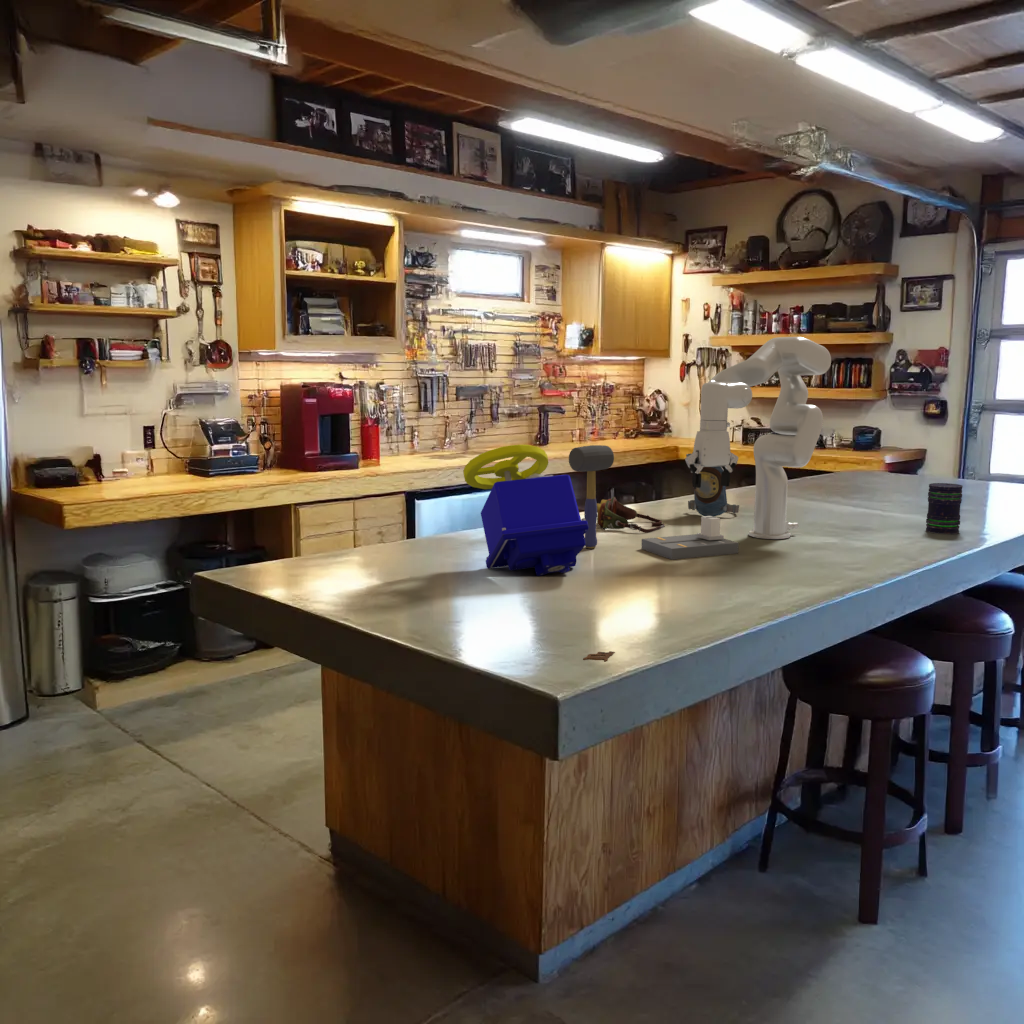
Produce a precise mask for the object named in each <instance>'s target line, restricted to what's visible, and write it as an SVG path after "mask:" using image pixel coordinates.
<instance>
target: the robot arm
mask: <svg viewBox="0 0 1024 1024" xmlns="http://www.w3.org/2000/svg"><path fill="white" fill-rule="evenodd" d="M831 363H832V356H831V354H830V351H829V350H828V349H827V348H826V347H825V346H824V345H821V344H819V343H817V342H815V341H813V340H811V339H808V338H805V337H802V336H780V337H779V336H777V337H773V338H771V339H769V340H767V341H766V342H765V343H763V344H762V346H760V347H759V348H758V349H757V350H756V351H755V352H754V353H753V354H752V355H751V356H750V357H748V358H747V359H745V360H743V361H741V362H738V363H736V364H734V365H731V366H729V367H727V368H725V369H723V370H721V371H719V372H718V373H717V374H715V375H714V376H713V377H712V378H711V379H710V380H709V381H707V382H705V383H703V384H702V386H701V392H700V393H701V394H700V418H699V419H700V420H699V431H696V434H695V439H694V444H693V450H692V453H693V454H692V453H690V454H691V455H689V456H688V457H685V459H684V461H685V463H686V465H687V468H688V470H690V473H691V475H692V478H691V481H692V482H691V483H692V487H693V488H694V487H697V488H700V487H701V474H699V473H700V471H701V470H702V469H703V467H717V466H721V468H722V469H723V472H722V473H721V485H722V486H726V487H730V481H731V473H732V472H733V471H734V469H735V467H737V466H736V465H737V464H738V461H739V456H738V455H737V454H736V455H735V453H733V452H731V441H730V439H731V438H730V433H729V431H728V428H730V426H731V423H730V421H729V422H728V416H729V415H728V413H729V409H735V410H736V409H743V408H745V407H747V406H748V405H749V404H750V403H751V402H752V399H753V390H752V389H751V387H753V386H755V387H756V386H757V385H761V384H763V383H766V382H767V381H769V379H771V377H772V376H773V375H774V374H775V373H778V377H779V381H780V390H779V394H778V397H777V399H776V403H775V405H774V407H773V410H772V413H771V415H770V419H769V428H770V430H771V431H772V432H773V433H774V434H773V433H771V434H770V433H768V434H763V435H761V436H759V437H758V438H757V439H756V440H755V442H754V443H753V458H754V464H755V465H754V466H755V489H754V490H755V493H754V513H753V514H754V515H753V516H754V518H753V529H750V530H749V531H748V536H750V537H753V538H756V539H762V540H763V539H764V540H783V539H789V538H790V537H791V534H792V533H791V532H789V531H790V530H795V529H798V528H799V523H798V522H790V521H787V507H788V504H787V503H788V487H789V485H788V483H789V480H788V476H787V473H786V471H785V469H784V467H787V468H803V467H805V466H807V465H808V464H809V462H810V461H811V458H812V456H813V454H814V451H815V448H816V446H817V442H818V440H819V438H820V435H821V432H822V429H823V425H824V424H823V423H824V416H823V412H822V410H821V408H820V407H818V406H817V405H814V404H807V401H808V398H809V390H808V387H807V385H806V383H805V382H804V380H803V378H802V376H821V375H824V374H825V373H827V372H828V371H829V370H830V369H831V365H832V364H831ZM775 433H776V434H775ZM730 458H731V462H730ZM692 461H693V462H692ZM736 463H737V464H736ZM693 464H694V465H693Z"/></svg>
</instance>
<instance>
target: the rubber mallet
mask: <svg viewBox="0 0 1024 1024" xmlns="http://www.w3.org/2000/svg"><path fill="white" fill-rule="evenodd" d="M614 461H615V454H614V451H613V449H612V448H611V447H610V446H608V445H605V444H604V445H603V444H602V445H600V444H599V445H598V444H596V445H593V444H592V445H585V446H584V445H583V446H578V447H574V448H572V449H571V450H570V451H569V454H568V463H569V466H570V468H571V469H572V470H573V471H575V472H584V473H585V472H586V498H585V503H584V514H583V515H584V517H583V518H585V520H586V521H587V523H588V526H589V529H588V530H587V531H586V533H585V534H584V538H585V543H586V544H585V546H584V547H585V548H586V549H590V550H591V549H595V548H596V546H597V545H598V539H597V514H598V513H597V498H596V495H597V493H596V492H597V491H596V488H597V487H596V484H597V483H596V482H597V481H596V478H597V477H596V475H597V474H596V471H598V472H599V471H601V470H602V471H603V470H608V469H609V468H611V467H612V466H613V464H614Z"/></svg>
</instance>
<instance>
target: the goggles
mask: <svg viewBox="0 0 1024 1024" xmlns="http://www.w3.org/2000/svg"><path fill="white" fill-rule="evenodd" d="M636 518H638V519H642V520H643V519H644V520H647V521H651V527H653V528H643V527H642V526H641V525H640V526H639V524H637V523H632V522H631V523H629V522H628V521H630V520H634V519H636ZM596 525H597V526H600V528H602V529H603V530H605V529H609V530H621V529H622V530H623V529H625V528H626V529H627V528H629V529H630V530H632V531H637V530H638V531H639V533H640V532H641V533H644V534H648V533H653V532H655V531H658V530H661V529H663V528H665V525H666V524H665V523H663V521H662V520H661V519H658V518H656V517H651V516H650V515H648V514H647V515H645V514H642V513H638V512H637V510H636V509H634V508H631V507H628V506H626V505H625V504H622V503H621V502H619V501H618V500H617V497H616V496H612V497H611V498H609V499H601V501H600V503H599V502H598V503H597V521H596Z"/></svg>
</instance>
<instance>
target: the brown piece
mask: <svg viewBox="0 0 1024 1024" xmlns="http://www.w3.org/2000/svg"><path fill="white" fill-rule="evenodd" d="M614 654H616V652H615V651H607V652H605V651H597V653H589V654H587V656H586V657H583V658H582V661H586V660H587V661H588V660H591V661H593V660H594V661H604V662H608V660H609V658H610V657H612V656H613V655H614Z"/></svg>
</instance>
